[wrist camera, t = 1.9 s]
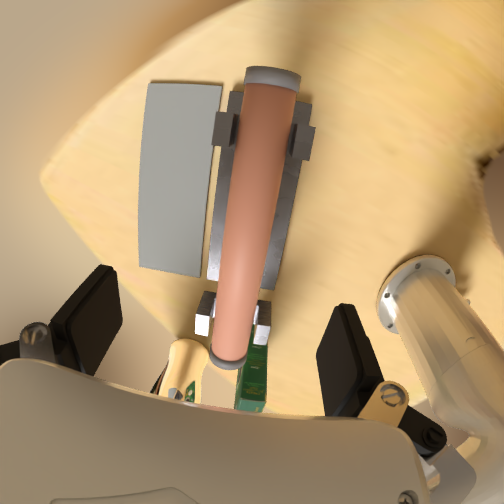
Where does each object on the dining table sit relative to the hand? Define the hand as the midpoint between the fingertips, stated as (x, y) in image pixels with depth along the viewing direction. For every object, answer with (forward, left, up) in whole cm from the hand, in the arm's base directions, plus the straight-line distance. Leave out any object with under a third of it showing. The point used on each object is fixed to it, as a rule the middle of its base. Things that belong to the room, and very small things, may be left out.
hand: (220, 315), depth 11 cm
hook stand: (0, 0, -20) cm, 20 cm away
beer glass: (+6, +25, -21) cm, 33 cm away
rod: (0, 0, -8) cm, 8 cm away
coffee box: (-3, +20, -21) cm, 29 cm away
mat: (+9, 0, -20) cm, 22 cm away
